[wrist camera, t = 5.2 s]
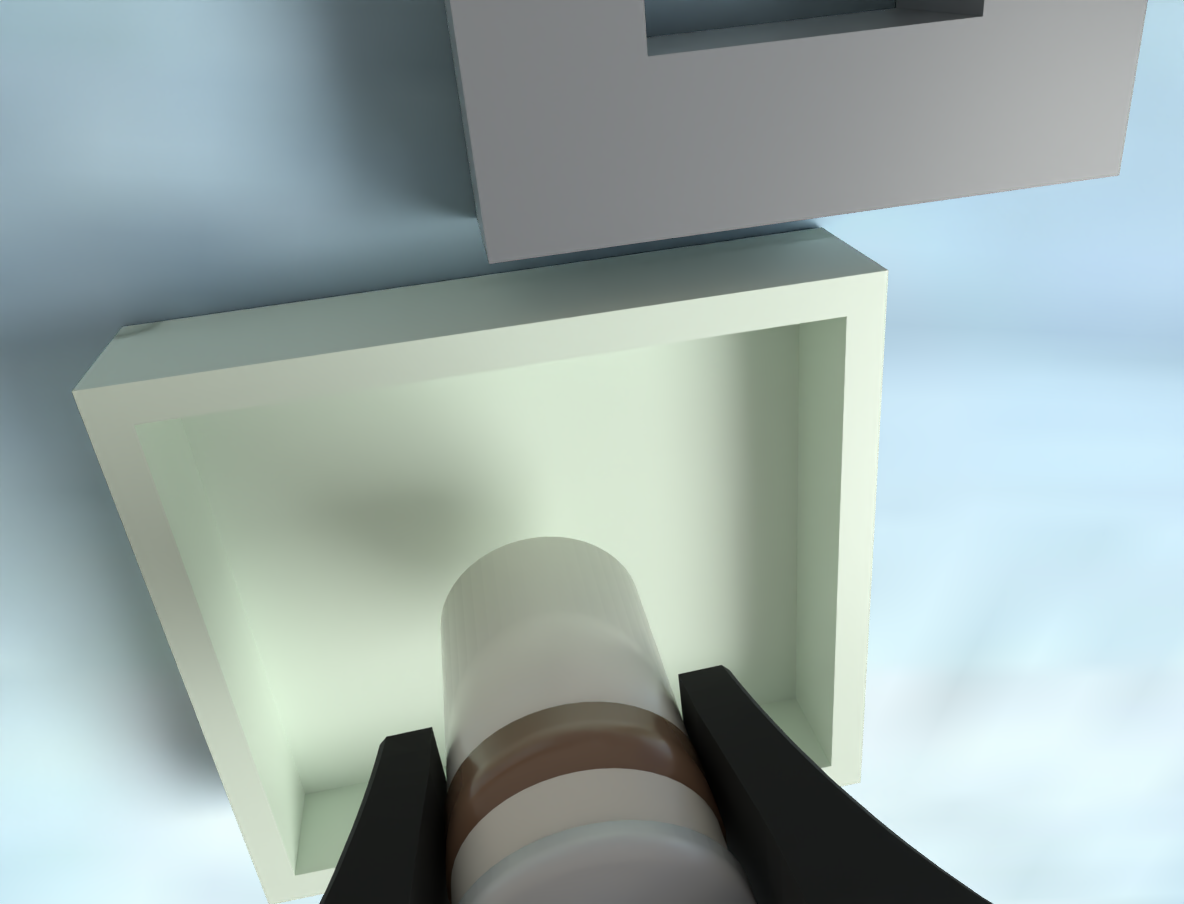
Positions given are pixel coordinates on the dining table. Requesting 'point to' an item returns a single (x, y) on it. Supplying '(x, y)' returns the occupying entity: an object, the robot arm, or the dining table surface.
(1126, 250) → the dining table surface
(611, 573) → the cylinder
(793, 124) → the fuse holder
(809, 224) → the dining table surface
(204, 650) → the parts tray
